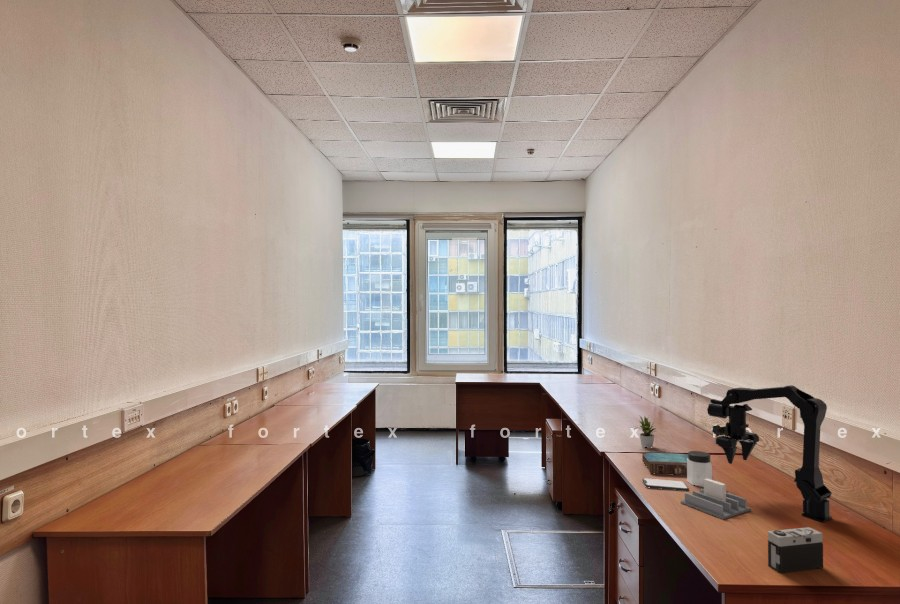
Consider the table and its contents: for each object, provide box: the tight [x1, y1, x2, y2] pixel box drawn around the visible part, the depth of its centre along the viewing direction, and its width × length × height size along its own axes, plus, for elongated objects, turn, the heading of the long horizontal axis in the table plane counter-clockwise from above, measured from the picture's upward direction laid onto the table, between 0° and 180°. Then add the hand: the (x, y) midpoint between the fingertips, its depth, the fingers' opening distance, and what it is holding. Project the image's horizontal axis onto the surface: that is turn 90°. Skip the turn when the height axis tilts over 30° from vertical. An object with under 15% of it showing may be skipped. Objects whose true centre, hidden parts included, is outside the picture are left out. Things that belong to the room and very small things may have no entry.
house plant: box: [631, 415, 659, 449], centre depth 257 cm, size 14×14×16 cm
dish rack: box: [680, 488, 752, 520], centre depth 179 cm, size 16×16×4 cm
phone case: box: [641, 477, 690, 491], centre depth 200 cm, size 9×2×16 cm
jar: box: [686, 450, 713, 488], centre depth 203 cm, size 9×8×12 cm
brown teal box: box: [641, 451, 688, 476], centre depth 221 cm, size 23×18×5 cm
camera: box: [767, 527, 824, 574], centre depth 139 cm, size 14×8×10 cm, turn 101°
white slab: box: [703, 478, 727, 502], centre depth 179 cm, size 7×2×8 cm, turn 29°
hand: (737, 461), depth 192 cm, fingers open, 9 cm apart
